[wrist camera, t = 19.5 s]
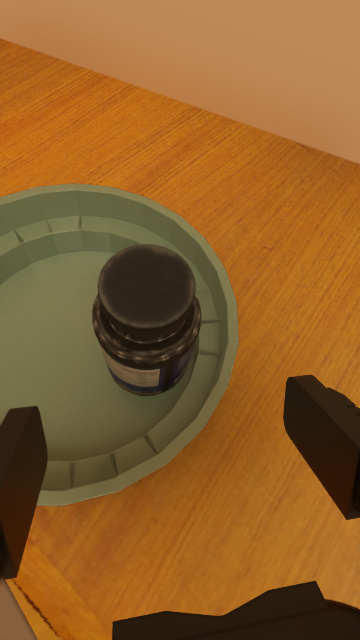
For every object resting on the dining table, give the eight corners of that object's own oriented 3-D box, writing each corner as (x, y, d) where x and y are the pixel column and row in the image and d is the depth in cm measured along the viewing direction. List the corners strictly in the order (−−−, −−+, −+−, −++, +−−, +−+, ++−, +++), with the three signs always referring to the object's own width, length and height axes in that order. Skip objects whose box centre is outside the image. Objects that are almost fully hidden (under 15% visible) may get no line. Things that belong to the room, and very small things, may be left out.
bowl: (185, 222, 33) (193, 171, 28) (255, 456, 24) (286, 449, 19) (-59, 252, 29) (-105, 200, 24) (-76, 540, 21) (-155, 560, 15)
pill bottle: (163, 309, 28) (172, 215, 18) (202, 373, 26) (237, 305, 16) (92, 343, 26) (60, 259, 16) (129, 414, 24) (118, 367, 14)
